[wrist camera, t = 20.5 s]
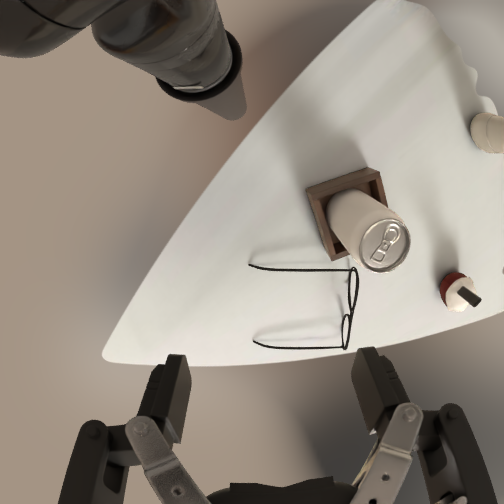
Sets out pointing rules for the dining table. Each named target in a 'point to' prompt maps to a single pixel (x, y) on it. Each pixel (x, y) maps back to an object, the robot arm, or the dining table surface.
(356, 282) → the glasses
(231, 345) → the dining table surface
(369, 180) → the tray
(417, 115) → the dining table surface
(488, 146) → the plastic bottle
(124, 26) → the robot arm
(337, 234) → the can
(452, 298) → the cocoa
